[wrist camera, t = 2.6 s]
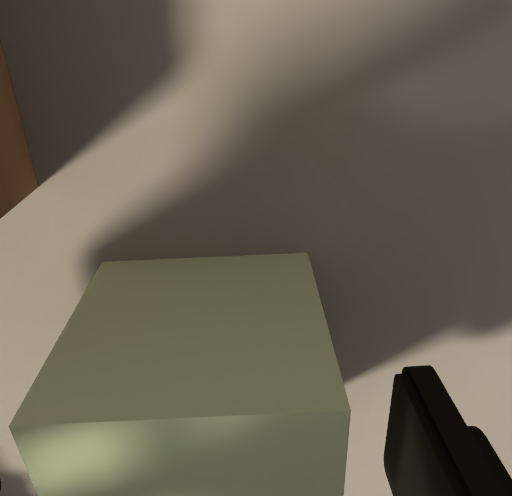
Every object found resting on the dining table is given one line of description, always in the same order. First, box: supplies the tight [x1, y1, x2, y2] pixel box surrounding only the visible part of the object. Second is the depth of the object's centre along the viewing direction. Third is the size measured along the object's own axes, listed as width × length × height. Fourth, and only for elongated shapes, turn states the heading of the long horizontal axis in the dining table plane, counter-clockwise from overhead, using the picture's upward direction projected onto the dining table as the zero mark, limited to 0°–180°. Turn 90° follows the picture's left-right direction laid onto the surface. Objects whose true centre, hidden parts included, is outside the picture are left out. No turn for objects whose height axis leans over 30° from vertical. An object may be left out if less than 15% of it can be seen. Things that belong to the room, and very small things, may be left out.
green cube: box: [9, 253, 351, 496], centre depth 10 cm, size 5×5×5 cm
